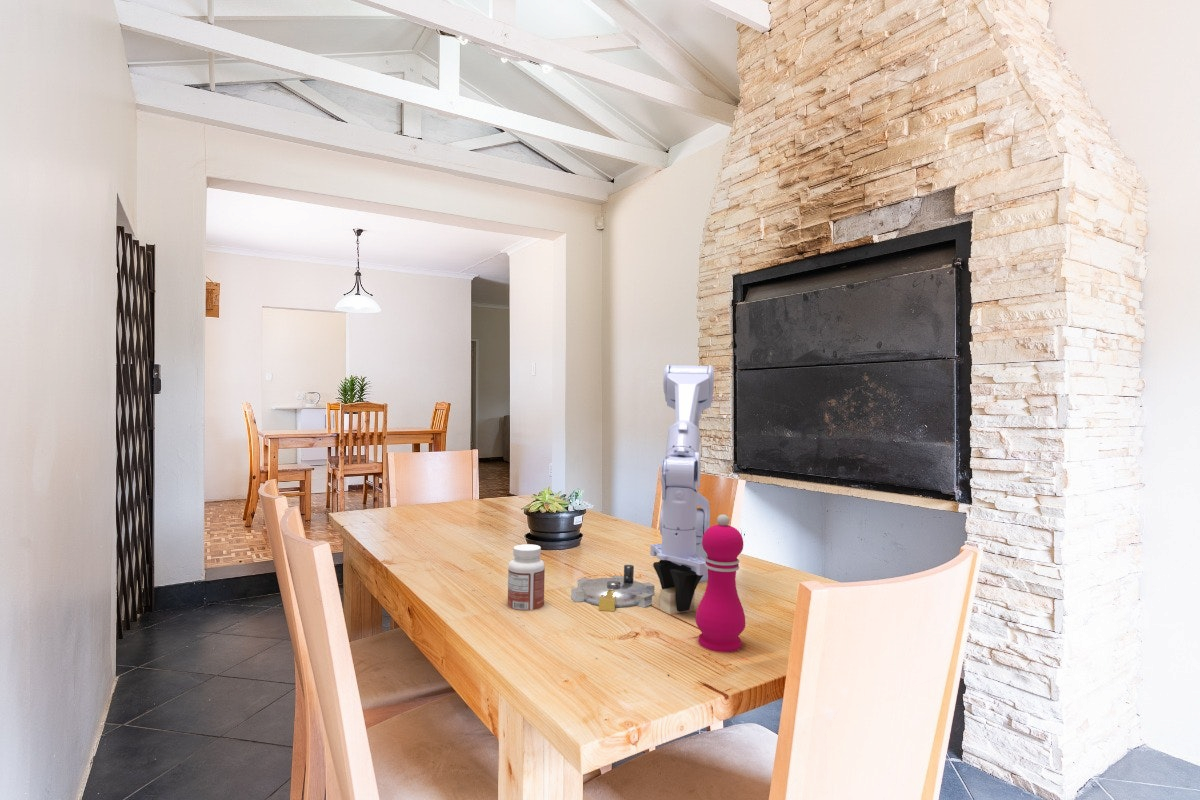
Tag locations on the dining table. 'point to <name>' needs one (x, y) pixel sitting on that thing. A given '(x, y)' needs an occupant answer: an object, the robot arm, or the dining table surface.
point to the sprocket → (614, 591)
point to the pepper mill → (721, 589)
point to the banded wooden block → (671, 601)
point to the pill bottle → (526, 578)
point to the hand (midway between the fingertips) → (677, 607)
